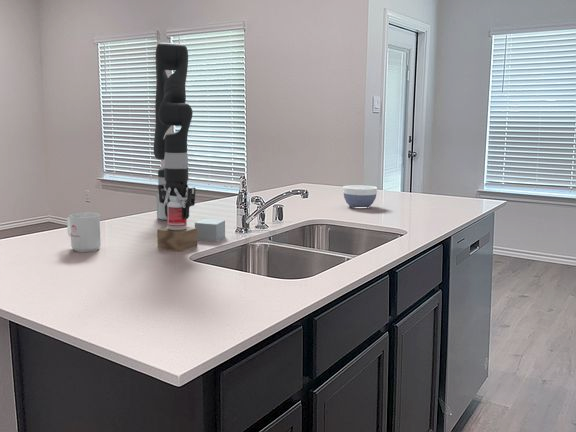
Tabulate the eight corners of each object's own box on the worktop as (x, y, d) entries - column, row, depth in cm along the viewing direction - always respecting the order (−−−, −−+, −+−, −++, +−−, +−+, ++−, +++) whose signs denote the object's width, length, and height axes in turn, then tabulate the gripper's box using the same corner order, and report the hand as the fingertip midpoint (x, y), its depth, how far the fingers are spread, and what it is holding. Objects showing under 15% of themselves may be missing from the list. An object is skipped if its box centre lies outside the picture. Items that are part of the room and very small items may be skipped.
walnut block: (157, 247, 191) (157, 229, 189) (176, 242, 198) (175, 225, 197) (179, 251, 186) (178, 232, 185) (197, 246, 194) (196, 228, 193)
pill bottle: (189, 229, 190) (189, 196, 188) (171, 231, 187) (171, 197, 185) (182, 226, 195) (181, 193, 193) (164, 227, 192) (164, 194, 190)
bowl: (381, 206, 279) (382, 186, 277) (367, 211, 265) (368, 190, 264) (351, 203, 287) (352, 183, 285) (336, 207, 274) (337, 187, 272)
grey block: (194, 239, 202) (194, 222, 201) (204, 235, 210) (204, 218, 209) (216, 241, 200) (216, 224, 199) (225, 236, 208) (225, 220, 207)
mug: (106, 248, 188) (105, 214, 186) (85, 254, 181) (83, 218, 179) (80, 243, 194) (78, 210, 192) (58, 249, 186) (56, 214, 184)
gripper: (151, 165, 188) (152, 217, 191) (186, 169, 181) (186, 222, 184) (167, 164, 194) (168, 213, 197) (201, 167, 187) (201, 218, 190)
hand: (177, 217), depth 190 cm, fingers open, 6 cm apart
